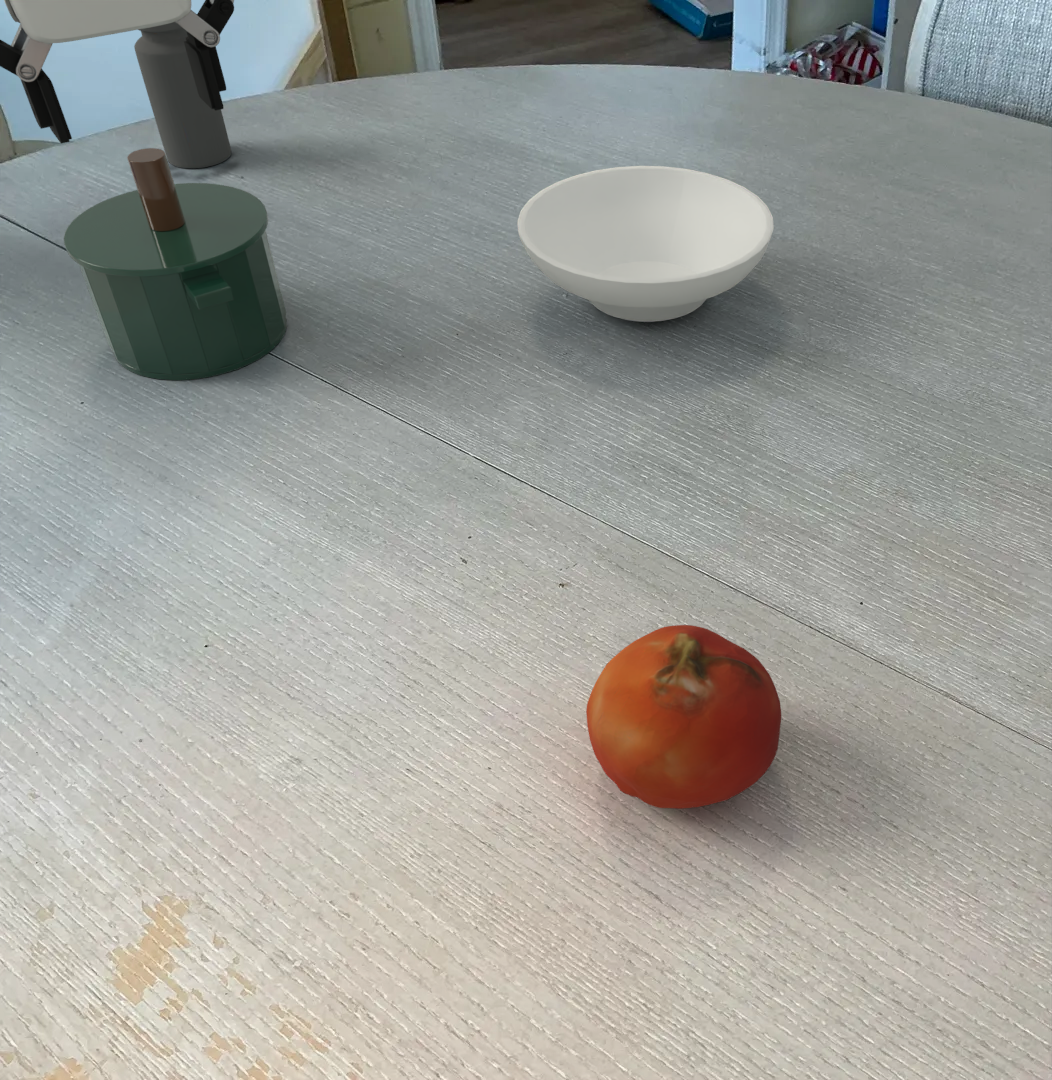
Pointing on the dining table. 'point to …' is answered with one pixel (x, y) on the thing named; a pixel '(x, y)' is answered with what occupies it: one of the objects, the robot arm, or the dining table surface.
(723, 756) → the tomato
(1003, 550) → the dining table surface
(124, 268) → the lid
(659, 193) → the bowl
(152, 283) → the pot
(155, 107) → the bottle
